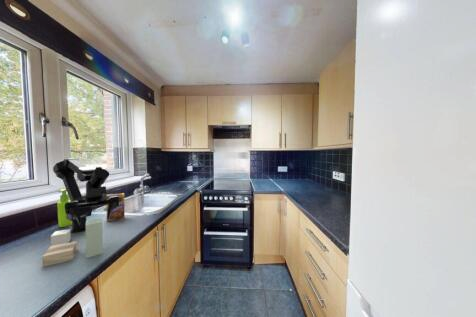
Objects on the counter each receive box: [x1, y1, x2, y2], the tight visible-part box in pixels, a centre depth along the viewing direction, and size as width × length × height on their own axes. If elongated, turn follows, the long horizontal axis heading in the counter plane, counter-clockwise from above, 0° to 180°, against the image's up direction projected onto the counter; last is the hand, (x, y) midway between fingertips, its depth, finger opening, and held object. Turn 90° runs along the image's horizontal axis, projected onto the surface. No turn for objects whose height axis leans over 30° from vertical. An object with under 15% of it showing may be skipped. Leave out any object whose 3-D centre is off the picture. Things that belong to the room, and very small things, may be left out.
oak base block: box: [41, 240, 79, 267], centre depth 69 cm, size 8×8×4 cm
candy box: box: [105, 192, 126, 222], centre depth 107 cm, size 9×4×15 cm, turn 123°
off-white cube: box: [50, 228, 72, 246], centre depth 79 cm, size 5×5×5 cm
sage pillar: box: [85, 217, 104, 259], centre depth 72 cm, size 5×5×13 cm
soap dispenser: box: [56, 188, 72, 228], centre depth 97 cm, size 6×7×20 cm
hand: (94, 221), depth 76 cm, fingers open, 9 cm apart
